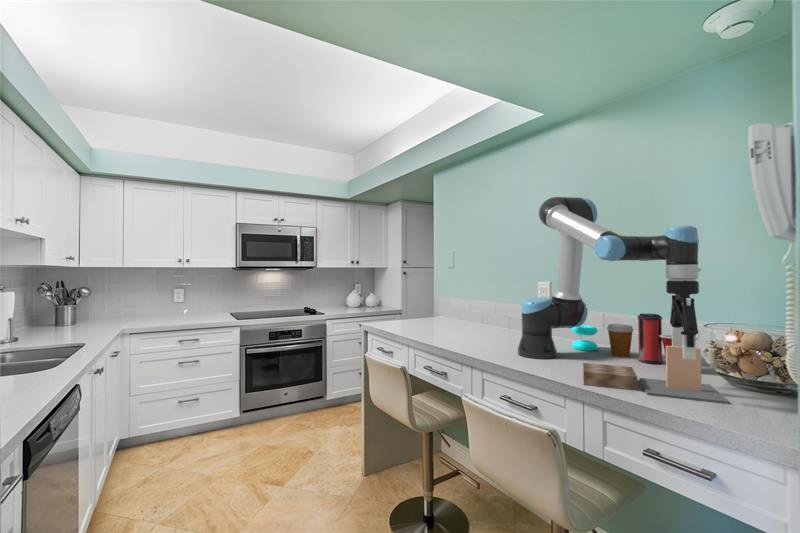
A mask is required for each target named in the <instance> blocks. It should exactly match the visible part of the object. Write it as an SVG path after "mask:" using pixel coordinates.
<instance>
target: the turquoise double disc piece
mask: <svg viewBox="0 0 800 533" xmlns="http://www.w3.org/2000/svg"><path fill="white" fill-rule="evenodd" d="M571 330H572V332H573V333H574V335H575V334H576V335H579V336H586V337H587V336H594V335H596V334H597V332H598V328H597V327H595V326H593V325H585V324H584V325H583V324H582V325H581V326H579V327H573V328H571ZM572 348H573V349H575V350H578V351H582V350H583V352H593V351H596V350H598V344H597V343H596V342H594V341H593V340H587V339H577V340H575V341H573V342H572Z"/></svg>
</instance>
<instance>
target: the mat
mask: <svg viewBox="0 0 800 533" xmlns="http://www.w3.org/2000/svg"><path fill="white" fill-rule="evenodd" d="M638 380H639V382H640V384H641V385H642V388H643V389H644V391H645V394H646V395H647V396H655V397H662V398H673V399H679V400H681V399H682V400H689V401H690V400H691V401H699V402H707V403H715V402H717V403H718V404H724V403H728V404H727V405H730V401H729V400H728V399H727V398H726V397H725V396H723V395H722V394H721V393H720V392H719V391H718V390H717V389H716V388H714V387H713V385H711V384H709V383H708V384H706V383H701V391H694V390H684V389H674V388H667V387H666V379H658V378H657V379H656V378H646V377H638Z"/></svg>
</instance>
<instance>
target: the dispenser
mask: <svg viewBox="0 0 800 533" xmlns="http://www.w3.org/2000/svg"><path fill="white" fill-rule="evenodd" d="M582 369H583V370H582V371H583V373H582V374H583V379H582V380H583V386H584V385H585V386H591V387H601V388H609V389H616V390H617V389H619V390H626V391H635V390H636V391H638V376H637V374H636V372H635V370H634V368H633V367H632V366H625V365H624V366H622V365H613V364H612V365H611V364H602V363H601V364H599V363H589V362H582Z"/></svg>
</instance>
